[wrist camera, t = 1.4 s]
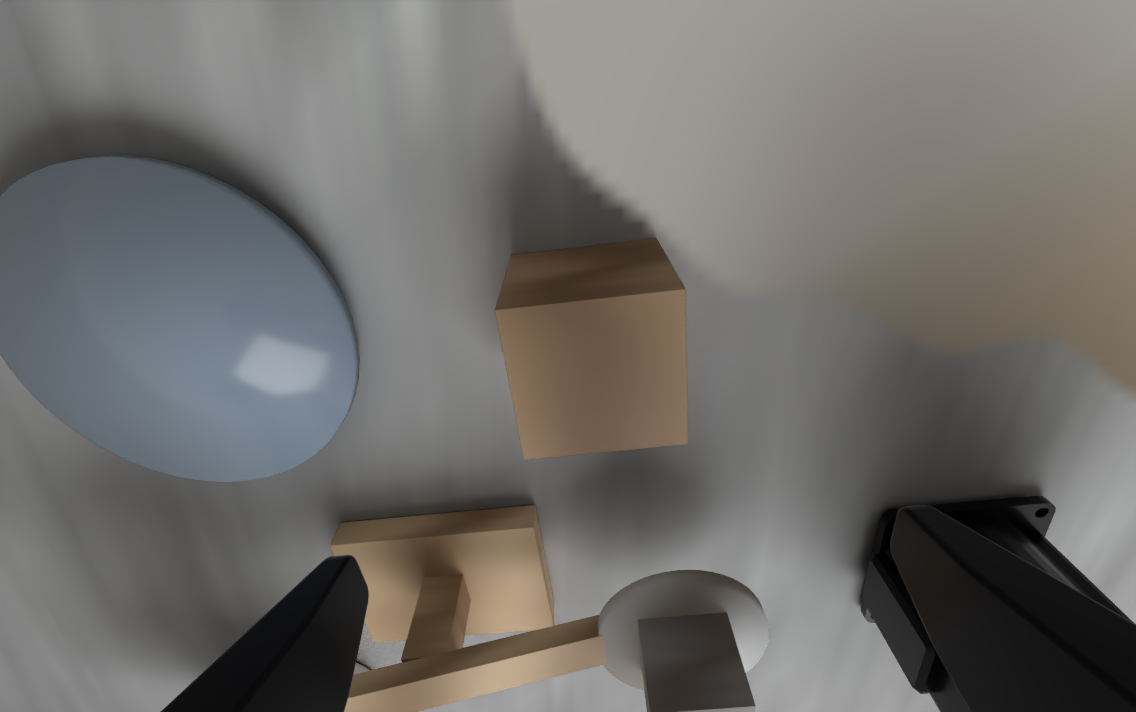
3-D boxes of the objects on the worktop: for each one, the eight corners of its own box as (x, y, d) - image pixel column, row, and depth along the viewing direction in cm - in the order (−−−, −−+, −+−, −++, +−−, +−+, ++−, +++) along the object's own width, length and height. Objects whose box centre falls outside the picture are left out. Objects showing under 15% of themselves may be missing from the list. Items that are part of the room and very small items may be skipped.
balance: (736, 486, 21) (821, 687, 14) (732, 589, 24) (801, 799, 17) (154, 539, 22) (-32, 749, 15) (215, 631, 25) (81, 844, 18)
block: (656, 237, 16) (685, 289, 12) (660, 364, 18) (687, 443, 14) (511, 254, 17) (494, 310, 13) (532, 377, 19) (524, 459, 15)
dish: (298, 129, 15) (278, 133, 14) (402, 445, 20) (393, 466, 19) (-71, 177, 15) (-119, 184, 14) (122, 473, 20) (98, 495, 19)
